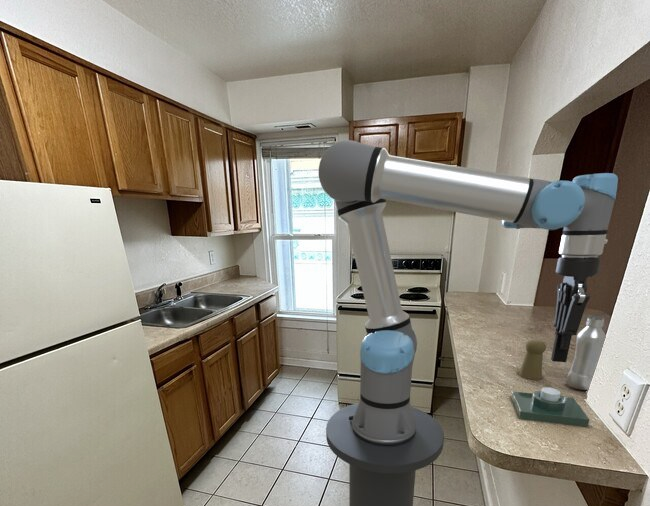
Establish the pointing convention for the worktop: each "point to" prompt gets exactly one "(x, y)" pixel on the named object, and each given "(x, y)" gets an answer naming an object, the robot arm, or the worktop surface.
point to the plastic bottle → (587, 353)
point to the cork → (533, 360)
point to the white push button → (550, 394)
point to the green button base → (549, 409)
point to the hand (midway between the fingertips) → (558, 360)
